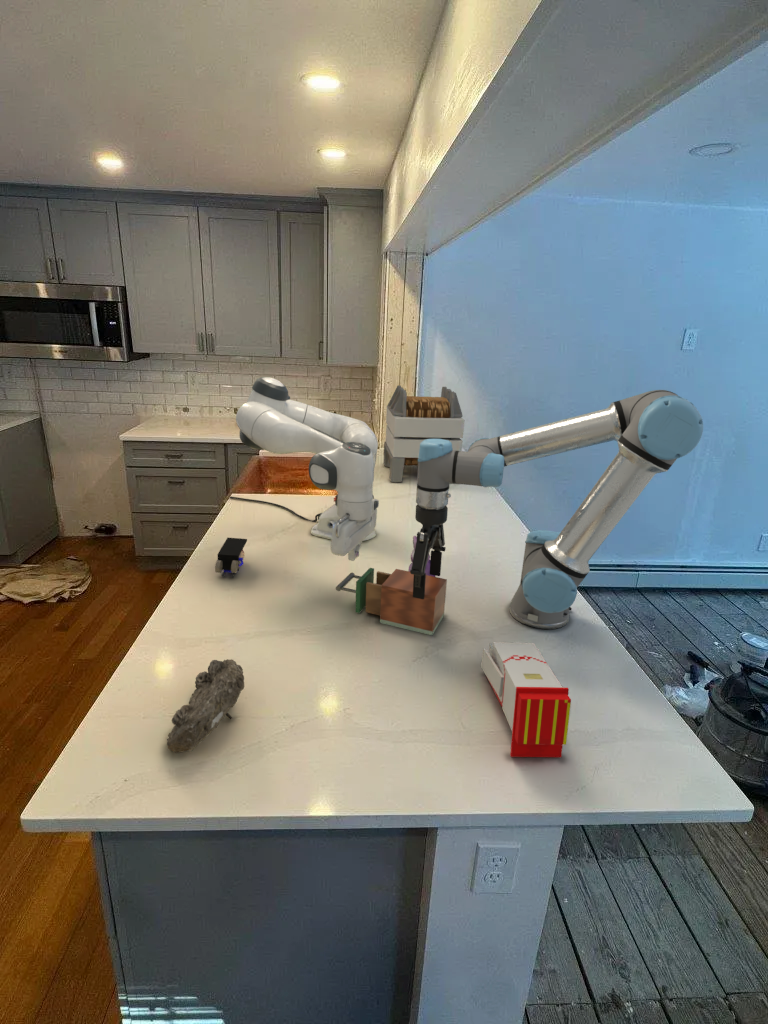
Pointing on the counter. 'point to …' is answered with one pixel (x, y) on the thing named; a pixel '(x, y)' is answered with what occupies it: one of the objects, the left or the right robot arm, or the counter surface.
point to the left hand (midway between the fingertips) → (353, 558)
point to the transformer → (419, 427)
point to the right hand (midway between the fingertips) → (427, 585)
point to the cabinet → (412, 603)
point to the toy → (528, 698)
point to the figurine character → (230, 556)
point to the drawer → (366, 590)
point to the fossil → (206, 705)
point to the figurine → (413, 556)
